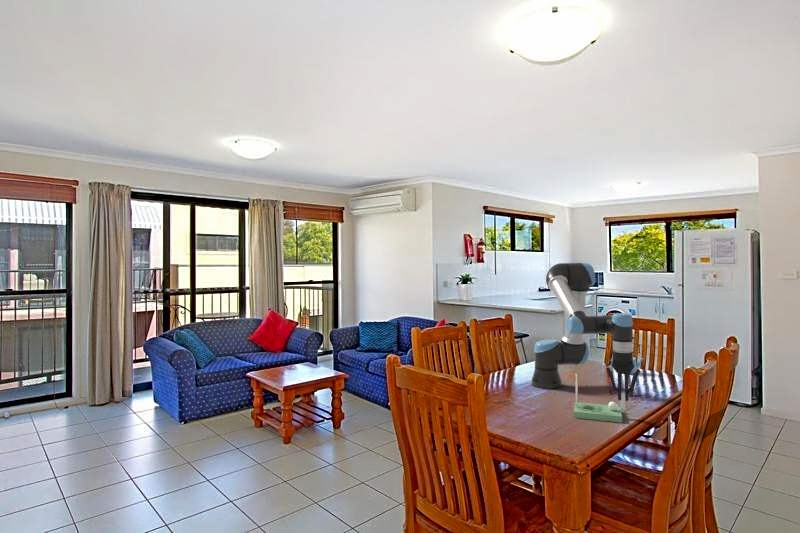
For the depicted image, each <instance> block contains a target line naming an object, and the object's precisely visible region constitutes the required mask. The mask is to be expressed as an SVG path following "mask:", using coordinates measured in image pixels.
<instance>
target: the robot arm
mask: <svg viewBox="0 0 800 533" xmlns="http://www.w3.org/2000/svg"><path fill="white" fill-rule="evenodd" d="M545 283H546V285H547V287H548V289H549V290H550V291H551V292H552V293H553V294H554V296H555V297H556V300H557V301H558V303H559V305H560V307H561V308H562V310H563V313H564V315H565V326H564V328H565V329H564V335H562V336H561V340H560V341H559V342H558V339H553V338H551V339H542V340H537V341H536V342H535V344H534V351H533V352H534V371H533V374H532V377H531V386H533V387H535V388H540V389H549V390H550V389H560V388H562V387H563V386H562V385H563V383H562V379H561V376H560V373H559V366H566V365H569V366H571V365H572V366H573V365H574V366H577V365H583V364H585V363H586V362H587V361H588V359H589V355H590V350H589V345H588V344H587V342H586V339H584V338H583V335H588V334H589V335H591V334H595V335H596V334H598V335H599V334H600V335H601V334H603V335H604V334H611V335H612V358H613V362H611V364H610V365H609V366H606V367H605V370H606V371H607V373H608V374H609V378H610V382H611V387H612V389H613V390H612V391H614V392H616V393H617V400H618V401H620V409H621V410H624V411H625V410H626V402H628V401H629V393H633V392H634V391H635V386H636V382H637V380H638V375H639V374H640V373H641V369H640V368H639V367H638V368H636V367H634V364H633V357H634V354H633V351H634V350H633V348H634V347H633V346H634V345H633V344H634V343H633V341H634V340H633V338H634V336H633V335H634V332H633V331H634V330H633V329H634V323H633V315H631V314H630V313H625V312H624V313H622V312H620V313H618V312H616V313H613V314H612V315H610V314H602V315H597V316H596V315H593V316H592V315H589V316H588V315H587V314H586V313H585V308H586V297H587V293H588V292H589V291H590V290H591V289H590V288H591V287H593V286H594V285H595V283H596V272H595V269H594V267H593V265H591V264H590V263H587V262H565V263H564V262H561V263H560V262H559V263H556V264H554V265H553V266H551V267H550V268H549V269H548V271H547V272H546V275H545ZM633 369H634V370H633ZM613 370H614V371H615V372H616V374H617V386H616V383H615V382H616V381H615V380H614V379H615V378H614V374H613ZM632 370H633V372H634V374H633V375H632V379H631V382H630V386H629V375H630V372H631V371H632ZM622 375H624V376H623V377H624V391H622Z"/></svg>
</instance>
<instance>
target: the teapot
mask: <svg viewBox="0 0 800 533" xmlns="http://www.w3.org/2000/svg"><path fill="white" fill-rule="evenodd" d="M644 359H645V358H644V357H641V358H639V360H638V363H637V359H636V357H635V356H633V364H634V367H636V368H638V369H639V368H640V367H641V365H642V361H643V360H644ZM610 362H611V363H612V362H613V357H612V358H611V359H610ZM633 370H634V369H633ZM633 370H632V371H631V372H630V373H629V375H632V376H633V374H634V372H633Z"/></svg>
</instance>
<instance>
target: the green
mask: <svg viewBox="0 0 800 533" xmlns="http://www.w3.org/2000/svg"><path fill="white" fill-rule="evenodd" d="M567 379H573V380H575V402H574V408H573V418H574V419H586V420H594V421H604V422H612V423H613V422H614V423H623V414H622V409H621V405H618V408H617V409H616V410H615V411H612V410H610V409H609V407H608V404H599V403H589V402H579V398H578V397H579V396H578V395H579V394H578V393H579V391H578V390H579V389H578V386H579V385H578V384H579V383H578V374H577V373H569V372H568V373H567Z"/></svg>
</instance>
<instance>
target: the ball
mask: <svg viewBox="0 0 800 533" xmlns="http://www.w3.org/2000/svg"><path fill="white" fill-rule="evenodd" d="M607 405H608V407H609V409H610V410H612V411H615V410H616V409H617V408H618V406H619V405H618V403H617V402H616V401H610V402H609V403H608V404H607Z"/></svg>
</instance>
